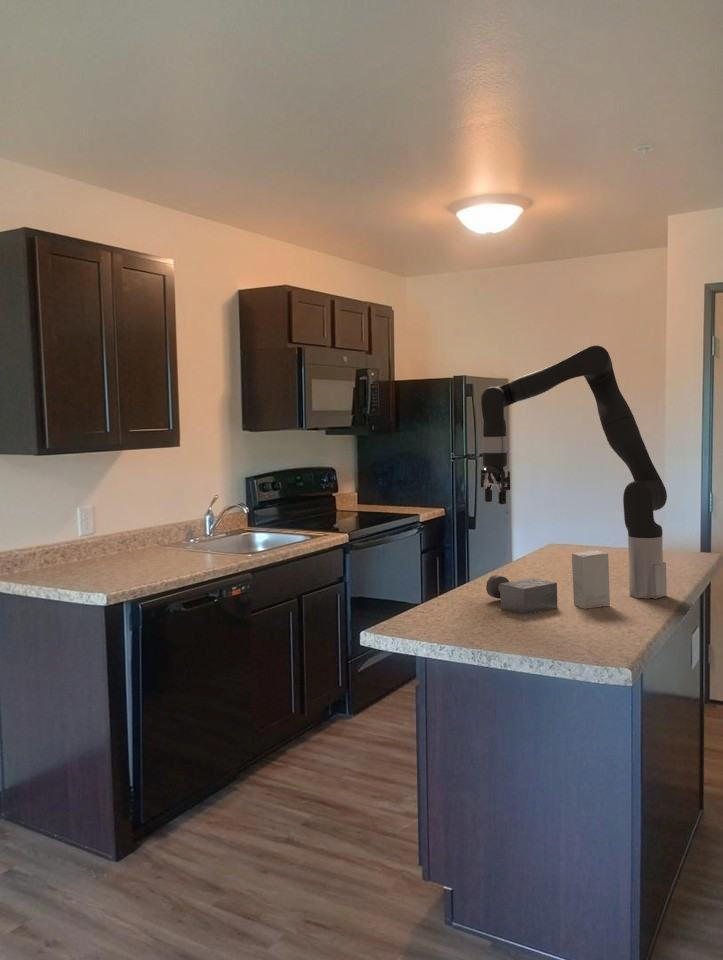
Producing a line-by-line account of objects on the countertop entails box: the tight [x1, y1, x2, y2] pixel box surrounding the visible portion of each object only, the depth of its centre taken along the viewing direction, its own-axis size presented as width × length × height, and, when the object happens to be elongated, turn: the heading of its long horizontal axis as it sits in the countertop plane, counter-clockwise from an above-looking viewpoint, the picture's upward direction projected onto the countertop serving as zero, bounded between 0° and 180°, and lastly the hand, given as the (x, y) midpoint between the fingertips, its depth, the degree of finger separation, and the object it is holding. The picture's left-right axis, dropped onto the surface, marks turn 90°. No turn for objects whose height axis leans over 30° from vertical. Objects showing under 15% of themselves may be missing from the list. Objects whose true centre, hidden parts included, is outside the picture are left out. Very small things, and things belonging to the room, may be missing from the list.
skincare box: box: [571, 549, 611, 610], centre depth 214 cm, size 8×6×15 cm
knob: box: [485, 574, 510, 600], centre depth 222 cm, size 11×6×6 cm, turn 31°
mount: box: [500, 577, 559, 616], centre depth 215 cm, size 10×12×7 cm
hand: (495, 502), depth 245 cm, fingers open, 8 cm apart
